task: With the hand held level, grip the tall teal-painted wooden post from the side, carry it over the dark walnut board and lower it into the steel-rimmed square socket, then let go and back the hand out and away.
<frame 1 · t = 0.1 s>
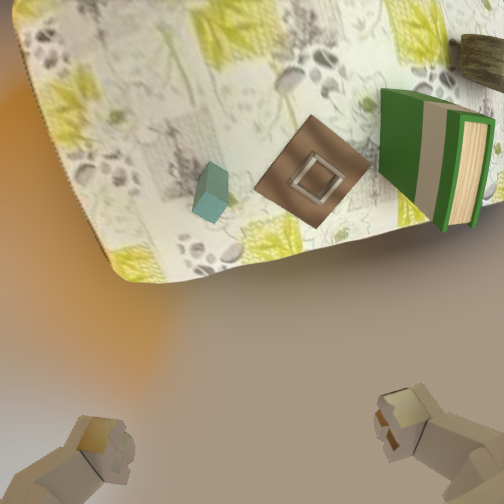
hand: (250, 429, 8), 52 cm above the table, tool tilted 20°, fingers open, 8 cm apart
tabletop clock: (466, 61, 44), on the table
teal post: (213, 175, 57), on the table
hardback book: (395, 130, 54), on the table
socket board: (313, 174, 59), on the table
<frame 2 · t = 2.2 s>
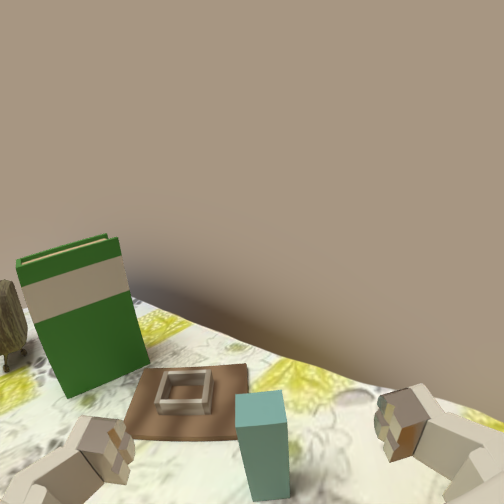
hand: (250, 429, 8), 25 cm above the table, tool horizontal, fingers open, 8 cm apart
tabletop clock: (18, 358, 52), on the table
teal post: (270, 486, 27), on the table
hardback book: (103, 373, 50), on the table
socket board: (188, 402, 42), on the table
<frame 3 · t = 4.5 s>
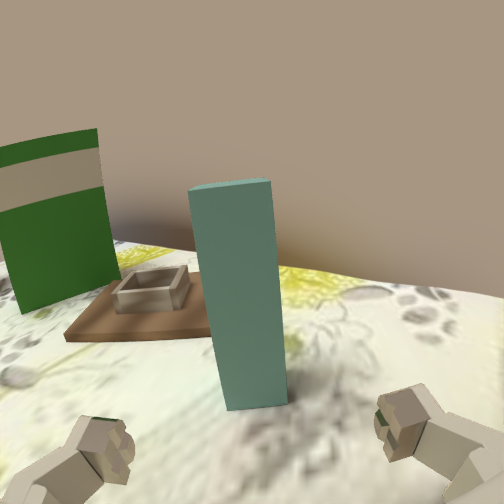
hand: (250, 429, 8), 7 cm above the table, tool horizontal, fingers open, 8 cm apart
teal post: (255, 388, 20), on the table
hardback book: (68, 292, 43), on the table
socket board: (157, 305, 36), on the table
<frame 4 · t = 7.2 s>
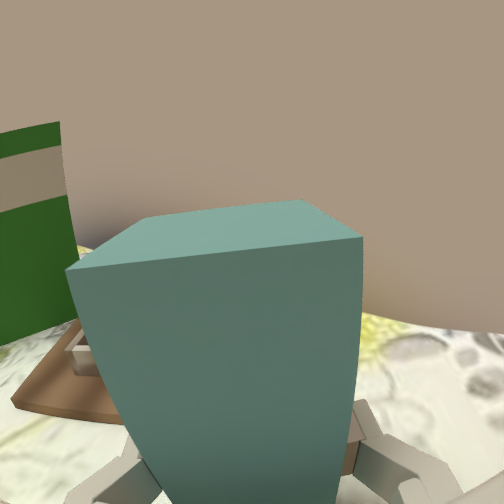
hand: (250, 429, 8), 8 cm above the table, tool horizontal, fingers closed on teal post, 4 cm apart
hardback book: (32, 324, 32), on the table
socket board: (130, 360, 25), on the table
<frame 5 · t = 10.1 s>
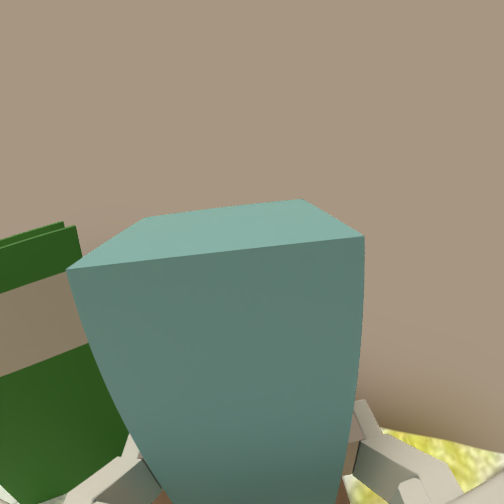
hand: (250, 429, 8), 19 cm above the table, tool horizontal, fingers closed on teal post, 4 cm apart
hardback book: (77, 463, 23), on the table
when the fingers open (10 cm above the table, at t = 13.0 s): teal post drops 1 cm, resting on socket board.
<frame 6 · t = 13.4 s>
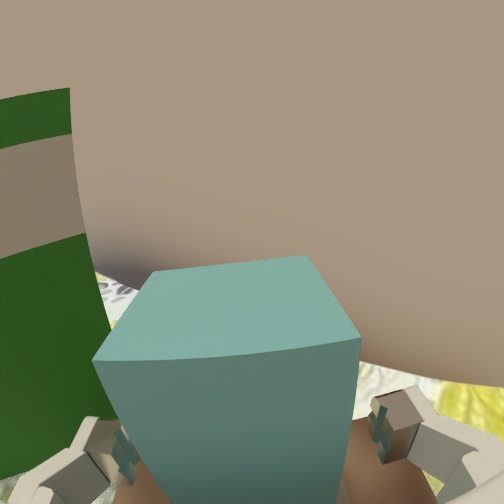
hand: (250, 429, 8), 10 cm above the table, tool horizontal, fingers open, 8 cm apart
hardback book: (46, 434, 18), on the table
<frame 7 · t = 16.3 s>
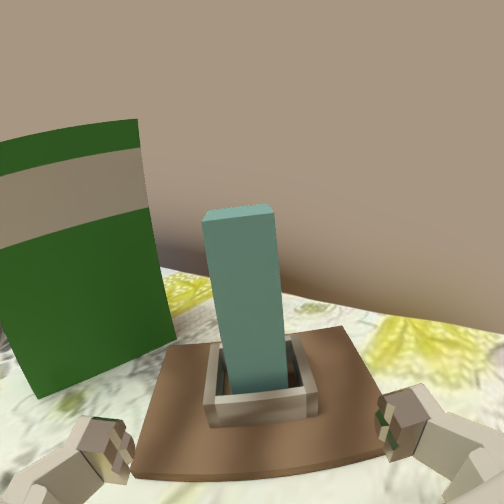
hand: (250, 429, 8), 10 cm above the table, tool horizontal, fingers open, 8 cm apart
teal post: (260, 390, 23), point 1 cm above the table, touching socket board
hardback book: (99, 357, 31), on the table
socket board: (261, 398, 23), on the table
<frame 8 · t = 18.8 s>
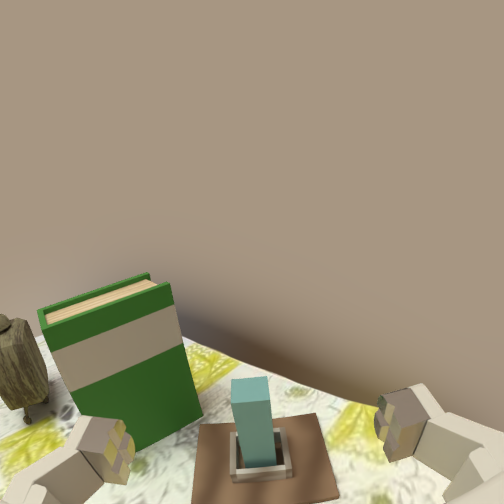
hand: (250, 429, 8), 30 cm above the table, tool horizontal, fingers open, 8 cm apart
tabletop clock: (39, 405, 45), on the table
teal post: (261, 460, 35), point 1 cm above the table, touching socket board
hardback book: (148, 428, 43), on the table
socket board: (261, 463, 35), on the table
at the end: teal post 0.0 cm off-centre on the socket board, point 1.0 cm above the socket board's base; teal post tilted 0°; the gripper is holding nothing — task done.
